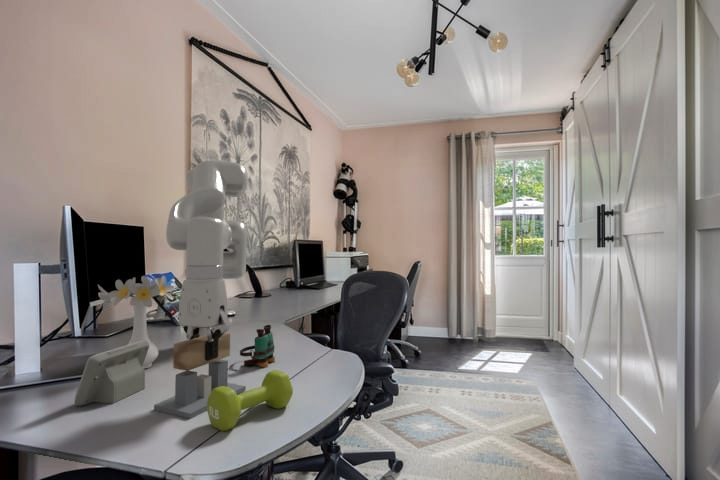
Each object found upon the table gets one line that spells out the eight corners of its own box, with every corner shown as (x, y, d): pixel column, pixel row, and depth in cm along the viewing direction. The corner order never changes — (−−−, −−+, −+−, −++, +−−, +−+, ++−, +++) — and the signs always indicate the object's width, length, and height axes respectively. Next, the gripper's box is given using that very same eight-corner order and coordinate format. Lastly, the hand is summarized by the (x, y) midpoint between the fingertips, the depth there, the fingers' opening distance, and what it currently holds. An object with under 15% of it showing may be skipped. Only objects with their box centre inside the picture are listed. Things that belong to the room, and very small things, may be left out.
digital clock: (135, 380, 95) (136, 337, 95) (161, 385, 91) (162, 341, 92) (62, 404, 80) (64, 353, 80) (90, 412, 76) (91, 359, 77)
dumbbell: (224, 438, 67) (225, 396, 67) (201, 424, 72) (202, 386, 72) (296, 408, 79) (297, 373, 80) (272, 398, 85) (273, 365, 85)
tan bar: (173, 368, 78) (173, 343, 79) (216, 353, 90) (216, 332, 90) (187, 370, 77) (188, 345, 77) (229, 355, 88) (230, 333, 88)
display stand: (153, 409, 78) (154, 375, 78) (212, 384, 92) (212, 355, 93) (190, 418, 74) (191, 382, 74) (245, 390, 89) (246, 360, 89)
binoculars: (247, 325, 115) (278, 323, 113) (249, 360, 115) (280, 359, 113) (231, 331, 106) (264, 329, 104) (234, 369, 106) (267, 368, 104)
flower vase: (93, 368, 104) (95, 276, 104) (167, 356, 115) (169, 273, 116) (98, 381, 94) (100, 279, 94) (179, 367, 105) (180, 276, 106)
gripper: (162, 273, 84) (161, 357, 83) (222, 276, 77) (220, 367, 77) (190, 271, 90) (188, 349, 90) (246, 274, 84) (245, 357, 83)
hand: (203, 356), depth 83 cm, fingers closed on tan bar, 4 cm apart
